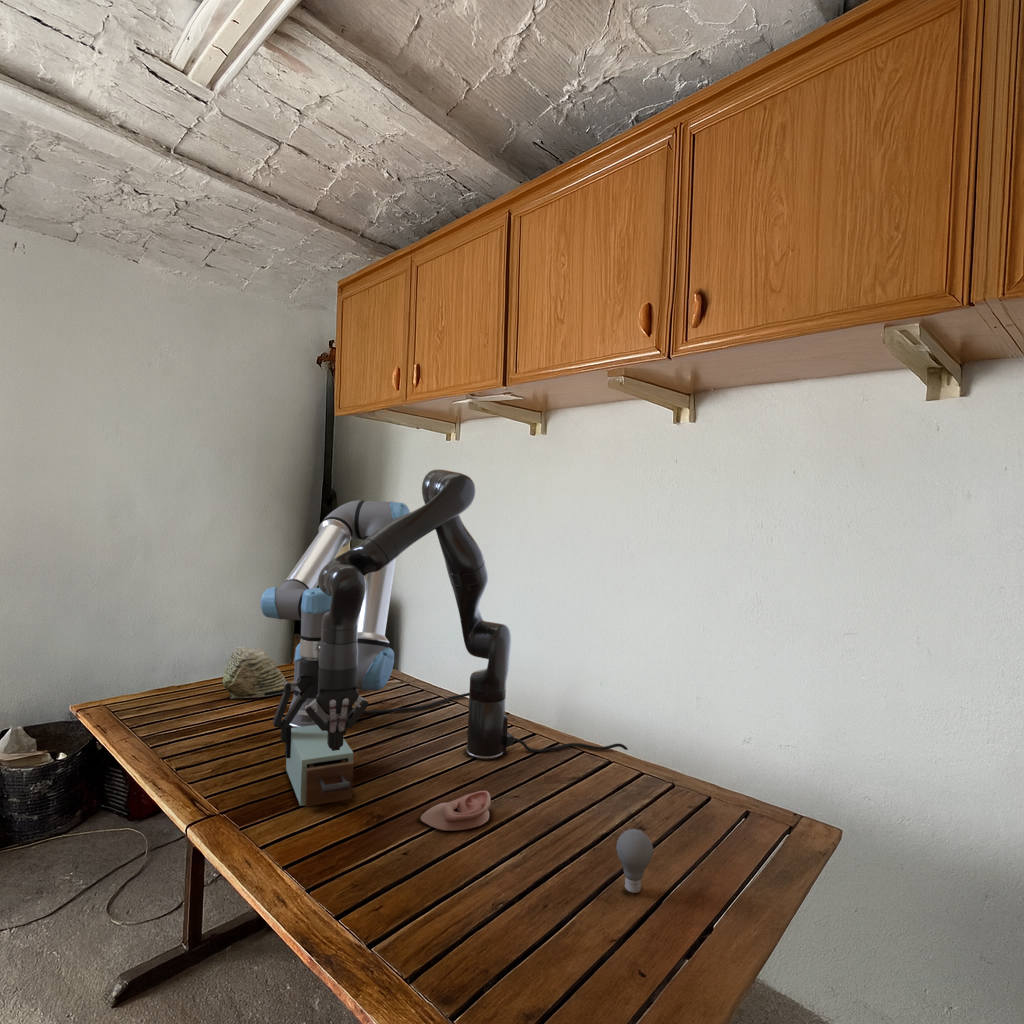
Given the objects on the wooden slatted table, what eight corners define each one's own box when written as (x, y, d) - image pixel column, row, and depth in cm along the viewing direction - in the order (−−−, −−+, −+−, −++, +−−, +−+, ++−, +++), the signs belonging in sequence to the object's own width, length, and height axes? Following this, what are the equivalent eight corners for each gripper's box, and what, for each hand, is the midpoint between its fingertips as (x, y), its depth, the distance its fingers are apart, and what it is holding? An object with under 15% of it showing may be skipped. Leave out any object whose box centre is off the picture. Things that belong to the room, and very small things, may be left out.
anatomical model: (415, 806, 123) (434, 781, 134) (414, 826, 123) (433, 799, 134) (481, 816, 120) (495, 789, 132) (480, 836, 120) (494, 808, 132)
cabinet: (351, 797, 134) (353, 752, 134) (300, 806, 129) (301, 760, 129) (332, 762, 151) (333, 722, 151) (285, 769, 146) (287, 728, 146)
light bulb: (610, 879, 108) (613, 822, 108) (644, 879, 109) (647, 822, 109) (619, 902, 102) (622, 840, 102) (655, 901, 103) (658, 840, 103)
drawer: (359, 810, 127) (360, 773, 126) (311, 820, 122) (312, 781, 122) (333, 765, 147) (334, 733, 147) (291, 771, 143) (293, 738, 143)
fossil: (218, 695, 195) (220, 647, 195) (278, 685, 208) (279, 640, 207) (228, 703, 189) (230, 653, 188) (289, 692, 201) (290, 645, 201)
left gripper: (265, 664, 136) (261, 766, 137) (371, 656, 147) (367, 750, 147) (261, 656, 143) (257, 753, 143) (362, 649, 154) (359, 739, 154)
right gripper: (307, 670, 120) (304, 761, 120) (376, 664, 126) (372, 751, 126) (300, 661, 126) (297, 747, 127) (366, 656, 133) (363, 738, 133)
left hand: (313, 752), depth 145 cm, fingers closed on cabinet, 10 cm apart
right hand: (335, 749), depth 127 cm, fingers closed
